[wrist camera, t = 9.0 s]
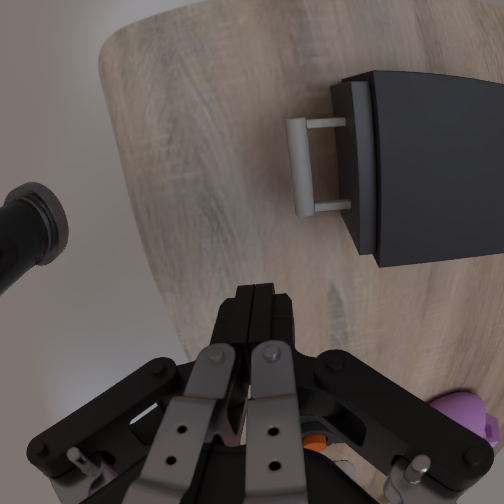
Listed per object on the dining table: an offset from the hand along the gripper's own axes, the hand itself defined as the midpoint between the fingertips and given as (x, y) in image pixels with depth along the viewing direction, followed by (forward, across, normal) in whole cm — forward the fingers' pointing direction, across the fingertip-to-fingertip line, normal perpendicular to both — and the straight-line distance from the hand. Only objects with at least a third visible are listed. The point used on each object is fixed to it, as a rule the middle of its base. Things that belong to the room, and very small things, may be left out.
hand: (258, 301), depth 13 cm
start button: (+13, -2, +37) cm, 40 cm away
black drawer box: (+16, -15, -3) cm, 23 cm away
